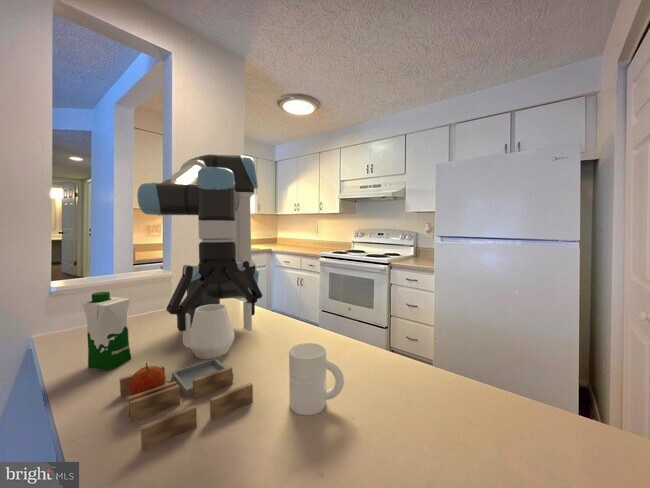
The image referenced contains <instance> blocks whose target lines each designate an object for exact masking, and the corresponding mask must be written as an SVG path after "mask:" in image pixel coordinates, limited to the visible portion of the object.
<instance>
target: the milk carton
mask: <svg viewBox="0 0 650 488" xmlns="http://www.w3.org/2000/svg"><path fill="white" fill-rule="evenodd" d="M130 302H131V298H128V297H127V298H126V297H125V298H124V297H112V296H111V295H110V291H99V292H98V291H97V292H93V293H92V294H91V300H89V301H87V302H83V303H82V307H83V311H84V314H85V317H86V331H87V333H86V334H87V349H88V350H87V368H88V369H94V370H101V369H102V371H103V370H104V371H112V370H113V369H115V368H116V367H119V366H120V364H121V365H123V364H125V363H127V362H128V361H130V360H132V354H131V347H130V341H129V317H128V316H129V314H128V313H129V308H130V304H131V303H130ZM122 363H123V364H122Z"/></svg>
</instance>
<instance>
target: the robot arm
mask: <svg viewBox="0 0 650 488" xmlns="http://www.w3.org/2000/svg"><path fill="white" fill-rule="evenodd" d="M258 188H259V185H258V178H257V171H256V164H255V160H254V159H253V157H252V156H246V155H238V154H237V155H235V154H234V155H233V154H232V155H230V154H214V153H213V154H205V155H199V156H196V157H194V158H191V159H189V160H187V161H185V162H183V164H182V165H181V166H180V169H179V170H178V171H176V172H174V173H173V174H172V175H171V176H169V177H168V178H167V179H165V180H164V181H162V182H158V183H157V182H145V183H142V184H140V185H139V187H138V189H137V196H136V197H137V203H138V207H139V209H140V211H141V213H143V214H145V215H152V216H198V219H197V221H198V223H197V224H198V239H199V240H201V241H200V242H199V243H198V260H199V261H198V265H196V266H195V265H188V264H184V265H183V266H182V274H181V278H180V279H179V282H178V283H177V286H176V287H175V290H174V292H173V294H172V296H171V298H170V300H169V302H168V305H167V306H166V308H165V310H166V311H167V312H168V313H169V314H170V315H176V320H177V321H176V325H177V329H178V331H179V332H182V345H184V346H185V347H186V348H190V347H191V326H192V322H193V317H194V313H195V310H196V308H198V307H200V306H203V305H209V304H221V299H223V300H224V299H225V300H226V299H245V300H246V301H245V300H244V301H243V302H242V308H243V309H242V313H243V314H242V317H243V321H242V322H243V329H244V330H246V331H247V332H252V331H253V318H252V317H253V316H254V315H255V312H256V310H255V309H256V308H255V306H256V305H255V303H257V302H258V300H259V299H262V297H263V294H262V291H261V290H260V288H259V286H258V283H259V275H260V267H257V266H256V262H255V261H254V260H253V259H252V236H251V235H252V230H251V229H252V228H251V227H252V223H251V222H252V221H251V198H252V197H253V195H254V194H255V190H257V189H258ZM185 294H186V296H185ZM184 296H185V298H184ZM183 298H184V299H183Z"/></svg>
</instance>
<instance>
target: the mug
mask: <svg viewBox="0 0 650 488" xmlns="http://www.w3.org/2000/svg"><path fill="white" fill-rule="evenodd" d="M288 355H289V356H288V364H289V366H288V369H289V370H288V371H289V384H288V385H289V387H288V388H289V389H288V390H289V407H290V409H291V410H292V412H294V413H295V414H297V415H300V416H312V415H317V414H318V413H320V412H322V411H323V410H324V409H325V408H326V406H327V401H328V400H332V399H335V398H336V397H338V395H339V394H341V392H342V391H343V389H344V386H345V377H344V374H343V371H342V370H341V368H340V366H339V365H338V364H336V362H334V361H332V360H330V359H327V349H326V347H324V346H323V345H321V344H319V343H314V342H313V343H312V342H305V343H299V344H296V345H294V346H291V348H290V349H289V351H288ZM327 370H328V371H329V372H331V374H332V376H333V377H334V380H335V381H334V385H333V387H331V388H330V389H327Z"/></svg>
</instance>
